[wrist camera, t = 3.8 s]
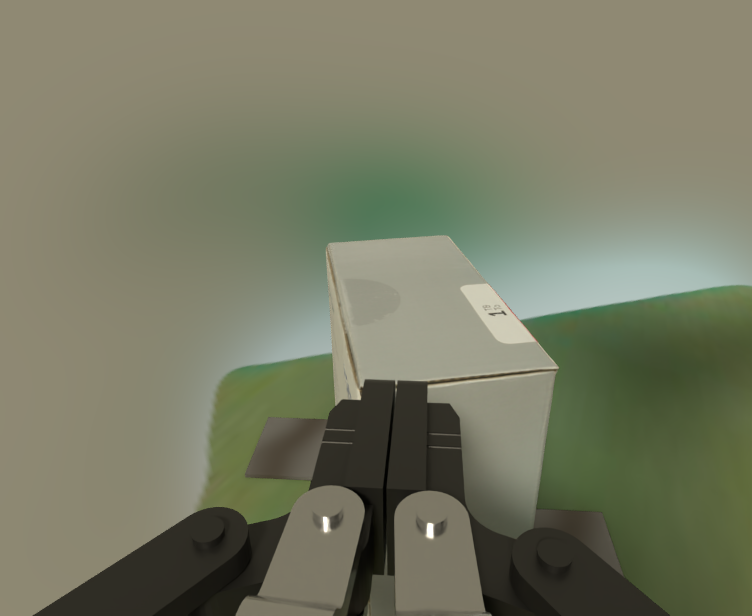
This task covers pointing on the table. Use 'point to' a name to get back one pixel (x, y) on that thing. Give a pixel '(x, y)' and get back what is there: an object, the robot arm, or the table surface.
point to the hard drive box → (446, 367)
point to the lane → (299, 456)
